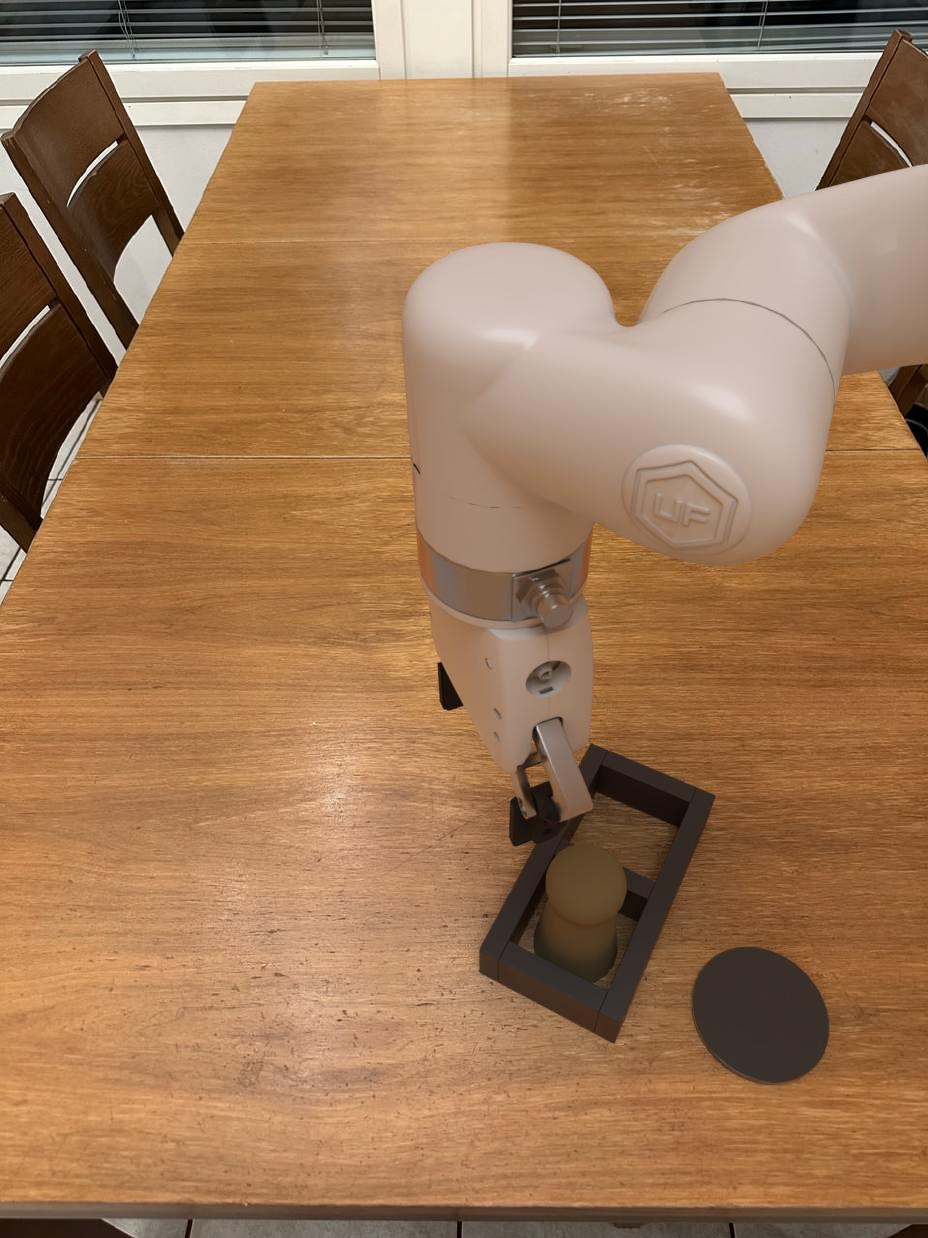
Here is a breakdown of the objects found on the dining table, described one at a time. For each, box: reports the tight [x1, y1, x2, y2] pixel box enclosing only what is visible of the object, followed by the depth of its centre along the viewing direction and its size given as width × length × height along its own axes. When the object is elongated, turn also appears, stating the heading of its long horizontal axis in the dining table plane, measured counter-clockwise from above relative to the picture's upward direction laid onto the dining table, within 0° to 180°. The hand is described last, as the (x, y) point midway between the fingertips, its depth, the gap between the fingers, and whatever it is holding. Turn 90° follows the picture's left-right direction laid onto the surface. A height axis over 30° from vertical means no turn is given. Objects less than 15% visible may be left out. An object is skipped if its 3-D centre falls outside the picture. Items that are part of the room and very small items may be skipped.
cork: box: [533, 843, 627, 984], centre depth 64 cm, size 6×6×11 cm
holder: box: [478, 742, 716, 1044], centre depth 69 cm, size 10×19×4 cm, turn 152°
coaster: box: [691, 946, 830, 1086], centre depth 64 cm, size 9×9×1 cm
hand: (499, 762), depth 54 cm, fingers open, 9 cm apart
